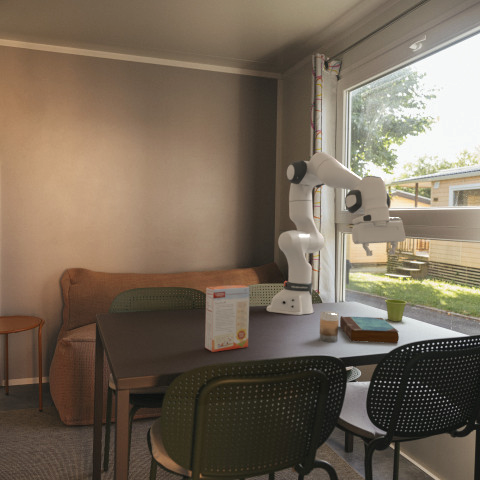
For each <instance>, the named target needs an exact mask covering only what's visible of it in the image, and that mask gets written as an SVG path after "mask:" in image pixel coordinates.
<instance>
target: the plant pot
mask: <svg viewBox="0 0 480 480" xmlns="http://www.w3.org/2000/svg"><path fill="white" fill-rule="evenodd" d="M384 302H385V305H386V313H387V319H388V320H390V321H392V322H402V321H403V317H404V311H405V307H406V305H407V301H405V300H402V299H401V300H400V299H385V300H384Z"/></svg>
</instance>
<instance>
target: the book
mask: <svg viewBox="0 0 480 480" xmlns="http://www.w3.org/2000/svg"><path fill="white" fill-rule="evenodd" d="M339 326H340V329H341V330H342V329H343V330H342V332H344V334H345V333H346V334H345V336H346V337H348V339H349V340H351V341H350V342H360V341H368V342H367V343H380V342H384V343H385V344H398V342H399V339H400V335H399V330H397V328H396V327H394V326H392V325H391V324H390V323H389V322H388V321H387V320H385V319H384V318H383V317H371V316H365V317H364V316H342V315H341V316H340V318H339ZM384 343H383V344H384Z"/></svg>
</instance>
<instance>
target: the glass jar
mask: <svg viewBox="0 0 480 480" xmlns="http://www.w3.org/2000/svg"><path fill="white" fill-rule="evenodd" d="M339 324H340V318H339V313H338V312H336V311H330V310H329V311H328V310H326V311H320V318H319V337H318V339H319V340H320V341H321V342H324V343H336V342H338V336H339Z"/></svg>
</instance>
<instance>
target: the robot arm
mask: <svg viewBox="0 0 480 480" xmlns="http://www.w3.org/2000/svg"><path fill="white" fill-rule="evenodd" d="M285 174H286V179H287V180H288V182H289V183H290V187H289V195H288V206H289V207H288V209H289V214H288V215H289V219H290V221H292V222H293V223H294V225H295V228H296V230H294V229H291V230H287V231H284V232H282V233H280V235H279V237H278V241H277V243H278V247H279V250H280V251H281V252H283V254H284V256H285V258H286V261H287V265H288V280H285V281H284V282H283V289H281V290H280V291H279V292H278V293H276V294H275V295H273V297H272V299H271V303H270V305H267V306H266V311H267V312H270V313H278V314H286V315H295V316H300V315H309V314H313V313H314V308H313V304H312V303H313V301H312V294H313V282H312V279H313V278H312V277H313V267H312V265H311V264H310V263H309V262H308V260H307V259H306V254H313V253H317V252H320V251H321V250H322V249H323V248H324V246H325V238H324V236H323V234H321V232H320V231H319V230H318V228H317V225H316V223H315V219H314V213H313V212H314V210H313V189H314V188H317V189H320V188H321V187H322V186H326V187H329V188H332V189H333V188H334V189H342V190H349V191H348V192H347V193H346V195H345V198H344V205H345V208H346V210H347V211H348V212H349V213H350V214H354V215H360V216H357V217H355V218H353V219H352V221H351V222H352V224H353V226H352V229H351V238H352V242H353V244H354V245H362V248H363V250H364V251H365V253H366V256H367V257H370V256H373V250H370V248H369V245H370V244H384V243H387V244H388V243H390V246H391V248H390V249H389V250H388V251H389V253H388V254H389V255H391V256H392V255H396V249H397V247H398V243H400V242H401V243H402V242H405V240H406V239H407V237H406V232H405V228H404V223H403V222H404V221H403V220H402V219H401V218H400V217H391V216H390V211H389V209H390V207H391V201H392V200H391V198H390V195H389V193H388V192H387V188H386V187H387V185H386V182H385V180H384V177H382V176H380V175H366V176H364V177H361V176H359V174H357V173H355V172H353V171H352V170H350V169H348V168H347V167H346V166H345V165H343V164H342V163H341V162H340V161H338V160H337V159H336V158H335V157H333V155H331V154H329V153H327V152H324V151H318V152H316V153H314V154H313V155H312V156H311V158H310V159H309V161H308V160H295V161H291V162H290V163H289V164H288V166H287V168H286V173H285Z"/></svg>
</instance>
